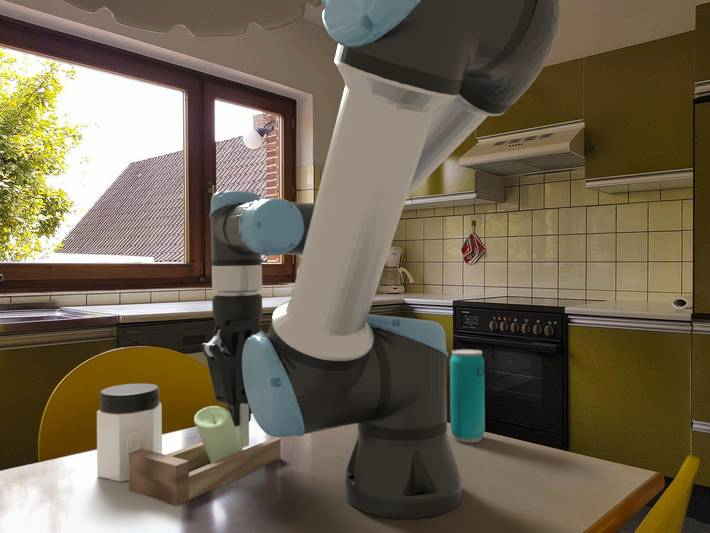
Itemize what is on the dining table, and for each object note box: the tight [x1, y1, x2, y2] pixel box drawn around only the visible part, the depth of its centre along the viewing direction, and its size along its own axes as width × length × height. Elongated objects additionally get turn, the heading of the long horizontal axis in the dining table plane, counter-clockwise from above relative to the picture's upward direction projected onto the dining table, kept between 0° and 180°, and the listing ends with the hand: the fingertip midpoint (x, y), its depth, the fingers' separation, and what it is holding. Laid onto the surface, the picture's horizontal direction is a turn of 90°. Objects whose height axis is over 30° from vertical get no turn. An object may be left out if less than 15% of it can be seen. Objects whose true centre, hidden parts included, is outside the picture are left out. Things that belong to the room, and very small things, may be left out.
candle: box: [193, 405, 244, 464], centre depth 82 cm, size 5×5×8 cm
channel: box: [128, 437, 282, 507], centre depth 80 cm, size 9×20×5 cm, turn 148°
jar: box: [96, 382, 163, 483], centre depth 81 cm, size 9×8×12 cm
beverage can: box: [449, 348, 486, 444], centre depth 95 cm, size 6×6×15 cm
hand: (239, 444), depth 86 cm, fingers closed
